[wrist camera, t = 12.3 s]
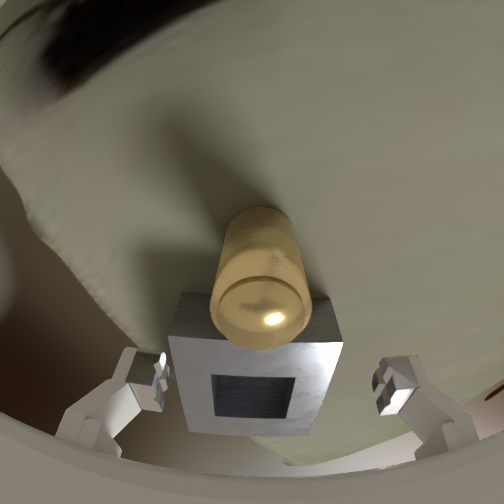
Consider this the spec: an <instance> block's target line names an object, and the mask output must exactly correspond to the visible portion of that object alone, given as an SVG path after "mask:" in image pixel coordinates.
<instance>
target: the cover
mask: <svg viewBox="0 0 504 504" xmlns="http://www.w3.org/2000/svg"><path fill="white" fill-rule="evenodd" d="M311 313H312V302H311V297H310V293H309V288H308V284H307V280H306V275H305V271H304V267H303V263H302V258H301V254H300V250H299V246H298V242H297V238H296V234H295V230H294V227H293V225H292V223H291V222H290V220H289V219H288V218H287V217H286V216H285V215H284V214H283V213H281V212H279V211H278V210H275V209H273V208H269V207H252V208H248V209H246V210H243V211H242V212H240V213H239V214H237V215H236V216H235V217H234V218H233V219H232V220H231V222H230V223H229V225H228V228H227V230H226V235H225V239H224V243H223V247H222V252H221V256H220V261H219V265H218V269H217V274H216V278H215V283H214V287H213V292H212V296H211V301H210V314H211V318H212V320H213V322H214V324H215V326H216V327H217V329H218V330H219V331H220V332H221V333H222V334H223V335H224V336H225V337H226V338H227V339H228V340H230V341H231V342H233V343H234V344H236V345H238V346H241V347H244V348H247V349H252V350H269V349H275V348H278V347H281V346H283V345H285V344H287V343H289V342H290V341H292V340H293V339H294V338H295V337H296V336H297V335H298V334H299V333H300V332H301V331H302V330H303V329H304V328H305V327H306V325H307V324H308V322H309V319H310V317H311Z"/></svg>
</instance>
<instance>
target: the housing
mask: <svg viewBox="0 0 504 504" xmlns="http://www.w3.org/2000/svg"><path fill="white" fill-rule="evenodd" d="M211 296H212V295H204V294H188V293H182V294H181V297H180V300H179V303H178V306H177V309H176V312H175V315H174V318H173V321H172V324H171V327H170V330H169V333H168V341H169V346H170V351H171V356H172V361H173V366H174V370H175V375H176V380H177V384H178V388H179V393H180V397H181V401H182V405H183V409H184V413H185V417H186V421H187V425H188V429H189V431H191V432H200V433H210V434H222V435H239V436H309V433H310V431H311V429H312V426H313V424H314V421H315V419H316V416H317V414H318V411H319V409H320V406H321V404H322V401H323V399H324V396H325V393H326V391H327V388H328V385H329V382H330V380H331V377H332V374H333V371H334V368H335V365H336V363H337V360H338V357H339V354H340V351H341V348H342V345H343V340H342V337H341V333H340V330H339V326H338V323H337V319H336V316H335V313H334V310H333V306H332V303H331V300H330V299H311V302H312V313H311V317H310V319H309V322H308V324H307V325H306V327H305V328H304V329H303V330H302V331H301V332H300V333H299V334H298V335H297V336H296V337H295V338H294V339H293V340H292V341H290V342H289V343H287V344H285V345H283V346H281V347H278V348H275V349H269V350H252V349H247V348H244V347H241V346H238V345H236V344H234V343H233V342H231V341H230V340H228V339H227V338H226V337H225V336H224V335H223V334H222V333H221V332H220V331H219V330H218V329H217V327H216V326H215V324H214V322H213V320H212V318H211V314H210V301H211Z"/></svg>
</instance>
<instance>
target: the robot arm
mask: <svg viewBox="0 0 504 504" xmlns="http://www.w3.org/2000/svg"><path fill="white" fill-rule="evenodd" d="M165 362H166V355H165V353H164V352H157V351H150V350H144V349H138V348H131V347H126V348H125V349H124V351H123V353H122V355H121V358H120V360H119V363H118V365H117V367H116V370H115V372H114V375H113V377H112V380H111V379H108V380H106V381H105V382H104V383H102V384H101V385H99V386H98V387H97V388H95V389H94V390H93V391H91V392H90V393H89V394H87V395H86V396H84V397H83V398H82V399H80V400H79V401H78V402H76V403H75V404H73V405H72V406H71V407H69V408H68V409H66V411H65V413H64V416H63V418H62V421H61V423H60V425H59V428H58V430H57V433H56V435H55V437H54V436H51V435H49V434H47V433H44V432H42V431H39V430H37V429H35V428H32V427H30V426H28V425H26V424H23V423H21V422H19V421H17V420H15V419H13V418H11V417H9V416H7V415H5V414H3V413H1V412H0V504H504V430H503V431H501V432H499V433H497V434H494V435H492V436H490V437H487V438H484V439H482V440H479V437H478V435H477V432H476V429H475V427H474V424H473V421H472V418H471V416H470V415H469V414H468V413H467V412H465V411H464V410H463V409H462V408H461V407H459V406H458V405H457V404H456V403H455V402H453V401H452V400H451V399H450V398H448V397H447V396H446V395H445V394H444V393H442V392H441V391H440V390H439V389H437V388H436V387H435V386H431V385H430V382H429V380H428V377H427V375H426V372H425V370H424V367H423V365H422V363H421V360H420V358H419V356H418V355H409V356H396V357H384V358H382V359H381V361H380V363H379V365H380V368H379V369H377V370H376V371H375V373H374V375H373V380H372V387H373V391H374V393H375V394H376V395H377V396H378V399H377V401H376V403H377V407H378V411H379V415H389V414H397V413H398V415H399V416H400V417H401V418H402V420H403V421H404V422H405V423H406V424H407V425H408V426H409V427H410V429H411V430H412V431H413V432H414V433H415V434H416V435H417V436H418V438H419V439H420V440H421V441H422V442H423V444H422V445H421V446H420V447H419V448H418V449H417V450H416V451H415V458H416V460H415V461H410V462H406V463H402V464H397V465H392V466H387V467H382V468H376V469H370V470H364V471H357V472H349V473H341V474H331V475H319V476H302V477H245V476H228V475H215V474H206V473H197V472H190V471H182V470H176V469H170V468H164V467H158V466H154V465H149V464H144V463H139V462H135V461H131V460H126V459H123V458H120V455H121V451H122V450H121V448H120V447H119V445H118V444H117V443H116V442H115V441H114V439H113V438H114V437H115V436H116V435H117V434H118V433H119V432H120V431H121V430H122V428H124V427H125V426H126V425H127V424H128V423H129V422H130V421H131V420H132V419H133V418H134V417H135V416H136V415H137V414H138V413H139V412H140V411H141V409H145V410H152V411H158V412H162V409H163V406H164V402H165V395H164V391H165V390H166V389H168V386H169V380H170V370H169V366H168V365H167V364H166V363H165Z"/></svg>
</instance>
